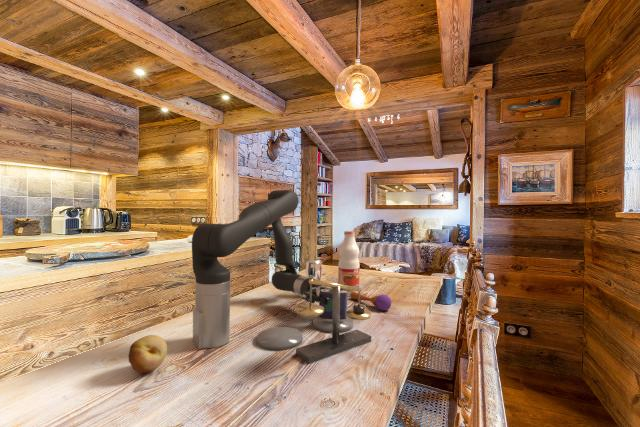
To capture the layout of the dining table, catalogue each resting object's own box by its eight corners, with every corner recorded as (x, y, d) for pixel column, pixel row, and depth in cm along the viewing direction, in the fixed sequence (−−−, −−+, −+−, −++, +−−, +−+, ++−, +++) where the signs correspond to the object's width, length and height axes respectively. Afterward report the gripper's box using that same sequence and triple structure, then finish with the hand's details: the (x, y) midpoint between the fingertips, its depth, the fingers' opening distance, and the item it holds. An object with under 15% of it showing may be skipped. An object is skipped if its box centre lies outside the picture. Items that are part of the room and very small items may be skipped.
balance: (306, 366, 74) (307, 283, 74) (290, 354, 80) (292, 278, 80) (375, 340, 89) (376, 272, 89) (358, 332, 95) (359, 268, 95)
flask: (346, 316, 102) (347, 284, 102) (347, 320, 99) (348, 287, 99) (318, 315, 103) (319, 283, 102) (318, 319, 100) (319, 286, 99)
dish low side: (330, 336, 92) (330, 332, 92) (305, 322, 102) (305, 319, 102) (361, 326, 100) (361, 323, 100) (335, 315, 110) (335, 311, 110)
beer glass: (319, 299, 129) (320, 263, 129) (303, 297, 131) (304, 262, 130) (322, 294, 136) (323, 260, 136) (307, 293, 138) (308, 259, 137)
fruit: (123, 382, 66) (124, 345, 66) (135, 363, 74) (135, 330, 74) (162, 377, 68) (163, 342, 68) (169, 360, 76) (170, 327, 76)
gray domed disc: (270, 354, 80) (270, 350, 80) (249, 337, 90) (249, 333, 90) (311, 342, 88) (311, 338, 88) (287, 327, 98) (287, 323, 98)
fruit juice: (350, 290, 144) (351, 230, 144) (363, 295, 136) (364, 232, 136) (333, 292, 139) (334, 230, 139) (346, 298, 131) (347, 232, 131)
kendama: (359, 288, 133) (395, 296, 117) (357, 302, 132) (394, 312, 116) (348, 287, 130) (384, 295, 113) (347, 302, 129) (383, 312, 113)
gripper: (291, 280, 108) (320, 291, 95) (323, 275, 117) (354, 284, 104) (291, 301, 108) (319, 315, 95) (323, 295, 117) (353, 307, 104)
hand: (337, 299), depth 99 cm, fingers closed on flask, 7 cm apart
